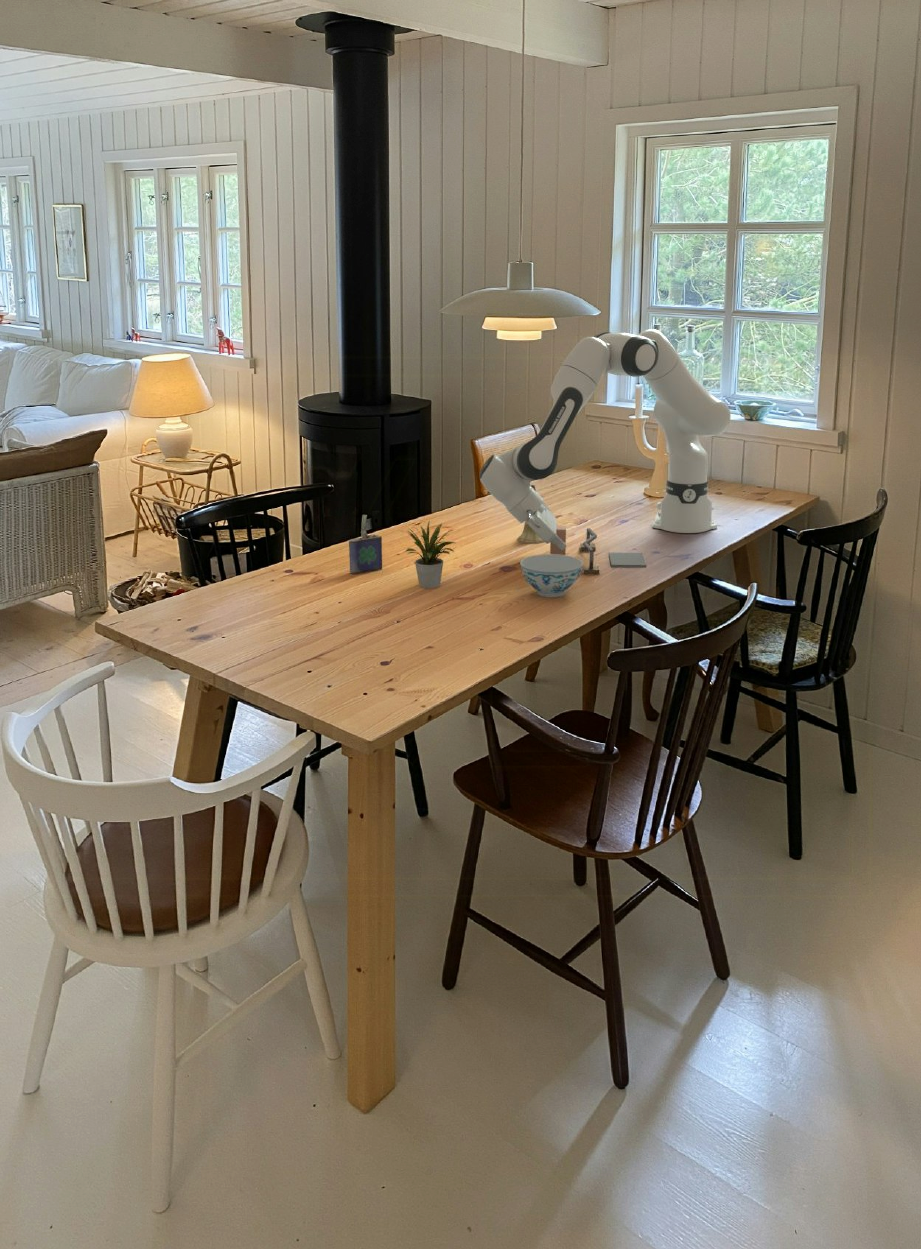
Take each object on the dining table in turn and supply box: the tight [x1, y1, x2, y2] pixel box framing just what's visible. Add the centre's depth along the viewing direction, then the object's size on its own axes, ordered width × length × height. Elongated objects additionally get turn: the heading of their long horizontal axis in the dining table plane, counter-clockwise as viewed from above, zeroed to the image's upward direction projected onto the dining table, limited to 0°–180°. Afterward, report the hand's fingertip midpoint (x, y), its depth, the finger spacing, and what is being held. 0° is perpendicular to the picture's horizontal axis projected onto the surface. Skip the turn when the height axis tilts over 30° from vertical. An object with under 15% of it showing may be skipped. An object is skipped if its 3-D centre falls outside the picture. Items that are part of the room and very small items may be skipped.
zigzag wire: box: [579, 527, 600, 575], centre depth 293 cm, size 26×4×6 cm, turn 176°
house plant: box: [401, 520, 456, 589], centre depth 270 cm, size 14×14×16 cm
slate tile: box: [608, 551, 647, 568], centre depth 293 cm, size 12×9×1 cm
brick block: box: [549, 525, 567, 555], centre depth 293 cm, size 4×4×9 cm
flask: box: [348, 530, 383, 575], centre depth 285 cm, size 9×3×11 cm, turn 121°
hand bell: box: [517, 484, 545, 545], centre depth 312 cm, size 8×8×16 cm
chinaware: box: [519, 553, 583, 598], centre depth 266 cm, size 15×15×8 cm
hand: (564, 542), depth 292 cm, fingers open, 8 cm apart
